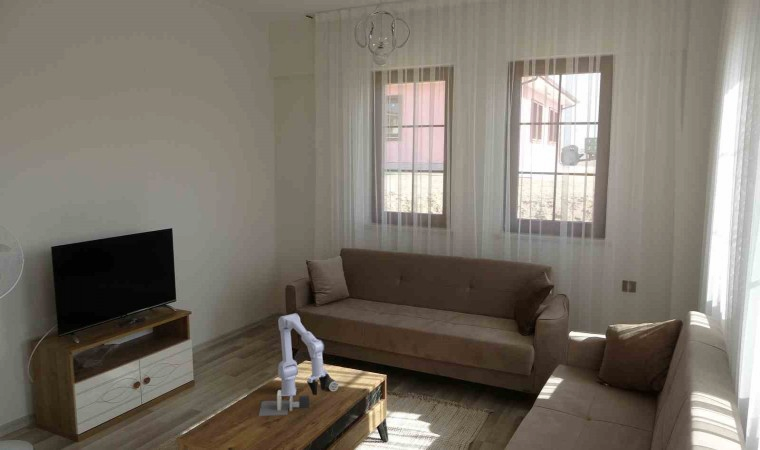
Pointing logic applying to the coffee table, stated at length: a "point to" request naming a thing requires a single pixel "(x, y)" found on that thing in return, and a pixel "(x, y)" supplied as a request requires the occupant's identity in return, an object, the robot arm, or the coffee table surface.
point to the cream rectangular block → (279, 400)
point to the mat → (273, 408)
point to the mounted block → (301, 404)
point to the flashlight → (332, 384)
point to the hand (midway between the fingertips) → (319, 392)
